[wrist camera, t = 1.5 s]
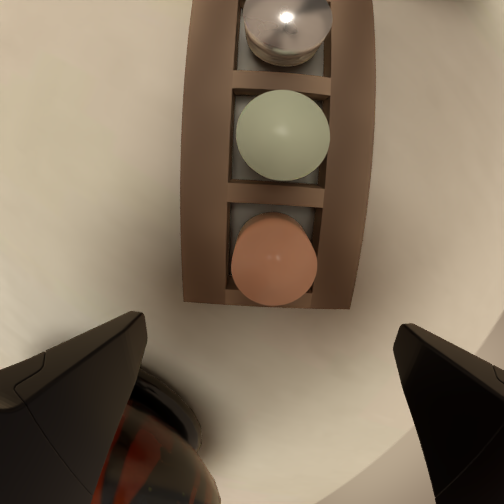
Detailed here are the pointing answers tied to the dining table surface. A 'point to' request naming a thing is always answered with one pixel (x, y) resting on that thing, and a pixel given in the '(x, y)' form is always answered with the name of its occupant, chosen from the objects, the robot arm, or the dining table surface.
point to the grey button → (286, 29)
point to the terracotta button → (273, 260)
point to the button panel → (272, 192)
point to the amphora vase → (155, 452)
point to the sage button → (283, 135)
